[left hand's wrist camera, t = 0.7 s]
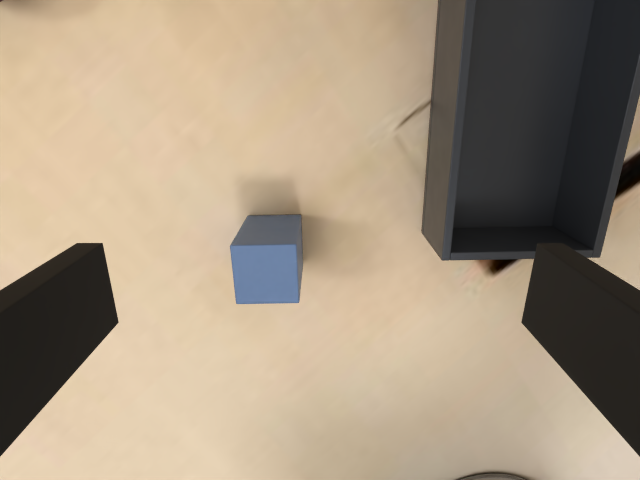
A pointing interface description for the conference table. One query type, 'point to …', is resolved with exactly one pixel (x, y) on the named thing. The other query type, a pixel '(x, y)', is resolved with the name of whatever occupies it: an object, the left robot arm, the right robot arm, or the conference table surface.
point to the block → (268, 259)
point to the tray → (528, 124)
